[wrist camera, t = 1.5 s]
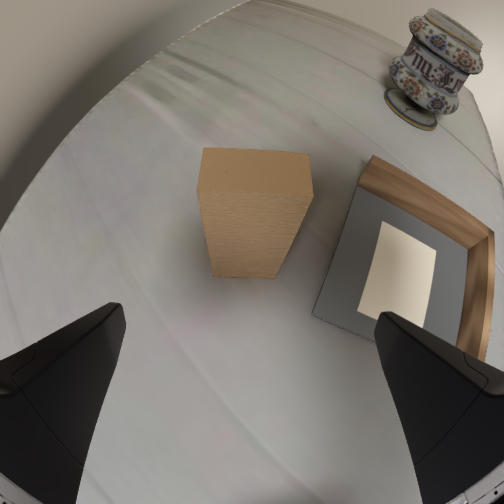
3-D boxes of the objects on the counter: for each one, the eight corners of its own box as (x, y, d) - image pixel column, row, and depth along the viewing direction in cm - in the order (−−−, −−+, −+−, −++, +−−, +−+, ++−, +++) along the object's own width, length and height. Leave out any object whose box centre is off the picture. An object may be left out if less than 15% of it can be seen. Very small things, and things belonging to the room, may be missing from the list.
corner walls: (455, 374, 20) (482, 371, 16) (310, 314, 22) (326, 303, 18) (473, 246, 26) (494, 232, 22) (358, 178, 28) (372, 154, 24)
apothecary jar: (450, 145, 33) (508, 64, 16) (387, 122, 32) (439, 18, 16) (427, 99, 37) (467, 26, 21) (370, 78, 37) (403, -8, 20)
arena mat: (446, 371, 20) (449, 370, 20) (310, 314, 22) (312, 313, 22) (465, 251, 26) (468, 249, 25) (355, 188, 27) (357, 185, 27)
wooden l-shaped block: (275, 279, 23) (313, 196, 12) (213, 276, 23) (196, 189, 12) (273, 200, 26) (299, 95, 15) (219, 197, 26) (215, 89, 15)
